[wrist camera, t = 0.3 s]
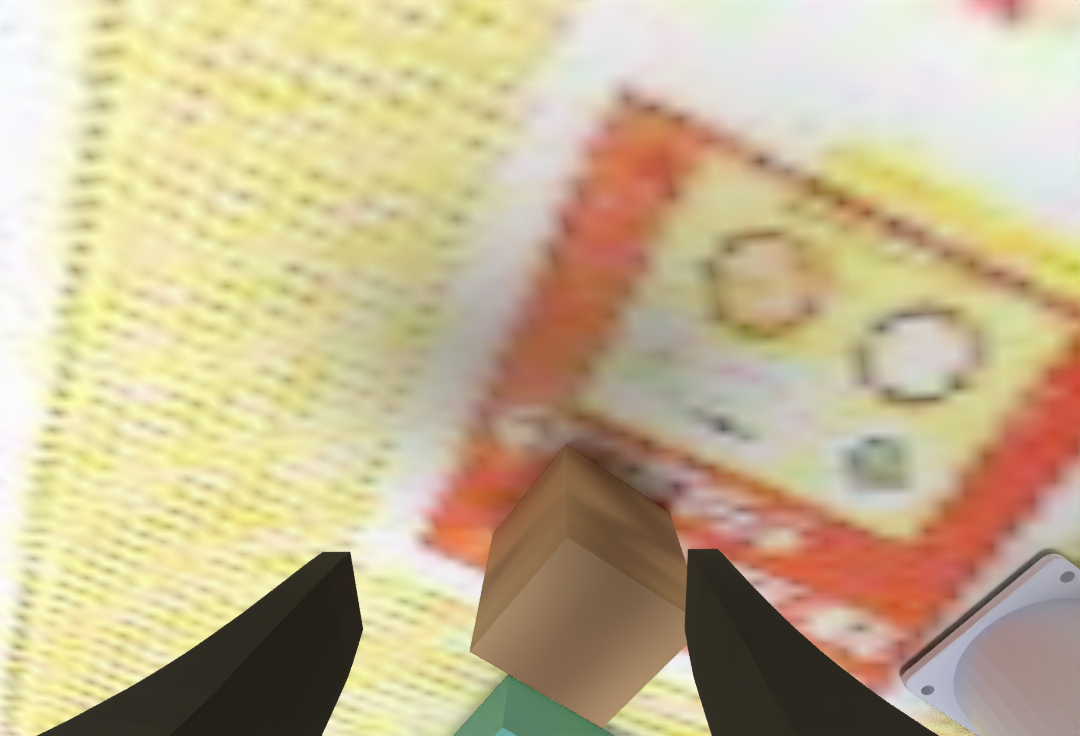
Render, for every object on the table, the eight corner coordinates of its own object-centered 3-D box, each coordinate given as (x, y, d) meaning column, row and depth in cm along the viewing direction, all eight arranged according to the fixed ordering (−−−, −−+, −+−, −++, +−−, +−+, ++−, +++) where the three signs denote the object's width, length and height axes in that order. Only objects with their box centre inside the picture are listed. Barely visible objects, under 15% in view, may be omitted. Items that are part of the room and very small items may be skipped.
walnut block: (669, 512, 22) (706, 625, 17) (592, 596, 24) (602, 728, 18) (565, 443, 22) (566, 537, 16) (492, 535, 23) (469, 651, 17)
